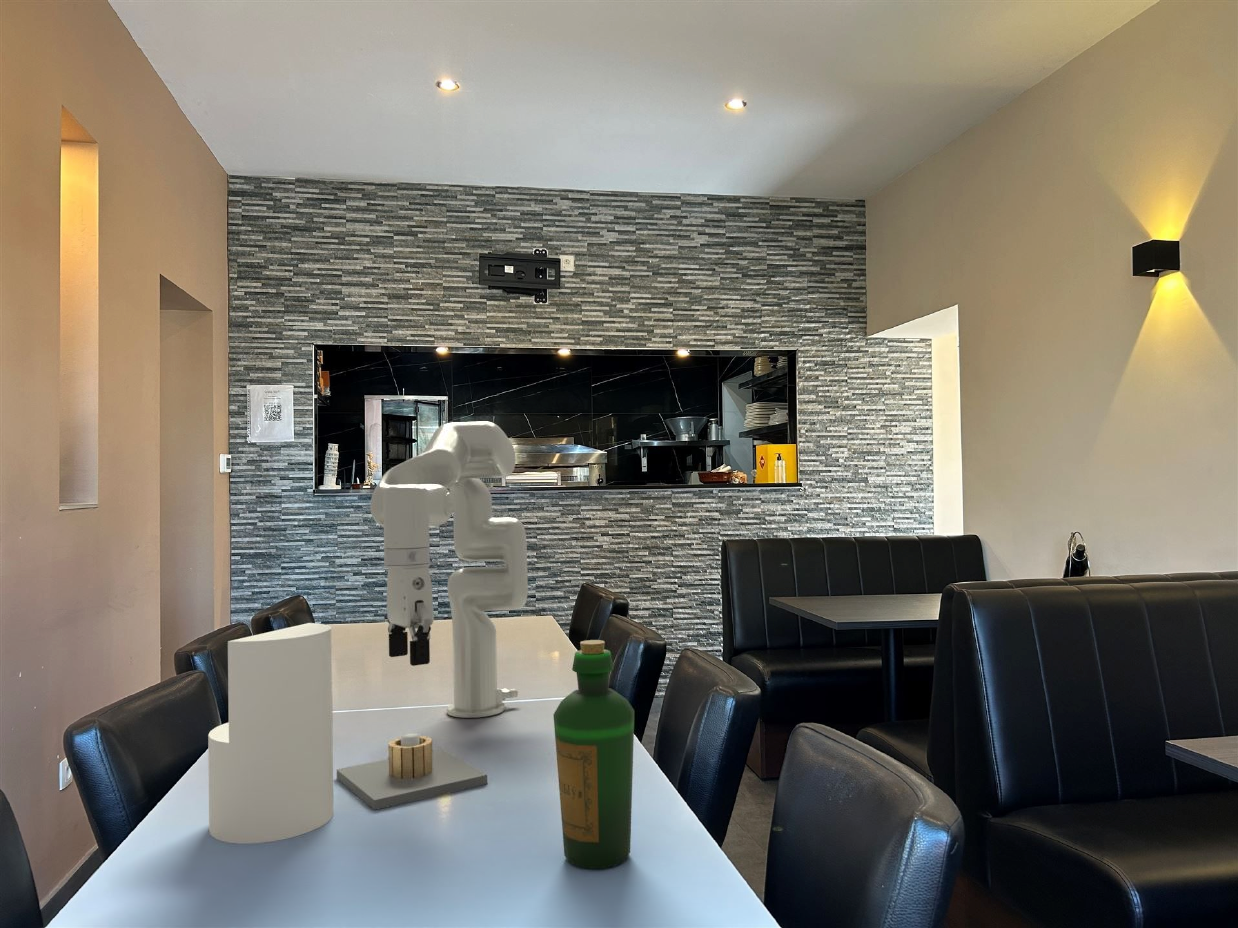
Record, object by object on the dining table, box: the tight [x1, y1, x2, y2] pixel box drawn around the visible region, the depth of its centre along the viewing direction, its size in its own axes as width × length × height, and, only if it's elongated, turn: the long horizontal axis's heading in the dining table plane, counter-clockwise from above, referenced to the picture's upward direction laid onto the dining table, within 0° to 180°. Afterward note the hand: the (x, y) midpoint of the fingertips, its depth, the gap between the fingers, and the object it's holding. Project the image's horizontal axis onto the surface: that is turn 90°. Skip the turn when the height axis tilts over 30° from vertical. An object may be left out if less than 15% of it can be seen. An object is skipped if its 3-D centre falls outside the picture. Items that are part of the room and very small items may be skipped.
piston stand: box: [336, 733, 488, 811], centre depth 147 cm, size 19×19×8 cm
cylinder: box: [207, 622, 335, 845], centre depth 131 cm, size 17×17×28 cm
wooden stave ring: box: [388, 735, 433, 779], centre depth 147 cm, size 7×7×5 cm
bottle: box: [553, 639, 635, 870], centre depth 115 cm, size 11×11×28 cm
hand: (408, 660), depth 148 cm, fingers open, 9 cm apart
